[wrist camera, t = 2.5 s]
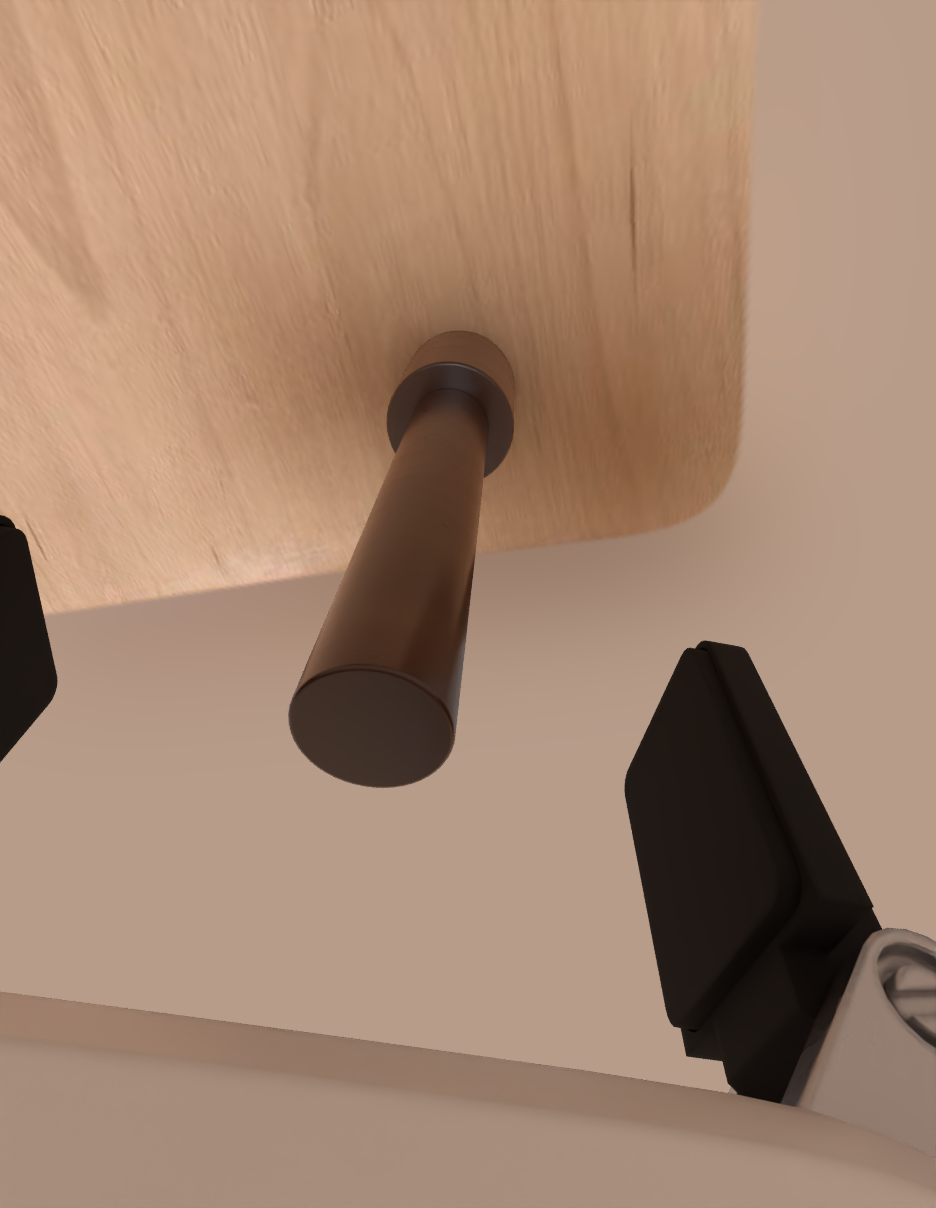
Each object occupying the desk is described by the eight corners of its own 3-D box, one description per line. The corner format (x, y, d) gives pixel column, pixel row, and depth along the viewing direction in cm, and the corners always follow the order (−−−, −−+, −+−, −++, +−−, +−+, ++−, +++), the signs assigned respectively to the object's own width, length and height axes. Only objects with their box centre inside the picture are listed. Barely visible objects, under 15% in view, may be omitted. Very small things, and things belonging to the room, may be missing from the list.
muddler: (525, 343, 21) (539, 650, 8) (501, 449, 23) (480, 840, 10) (413, 319, 21) (230, 593, 8) (399, 429, 23) (235, 798, 10)
